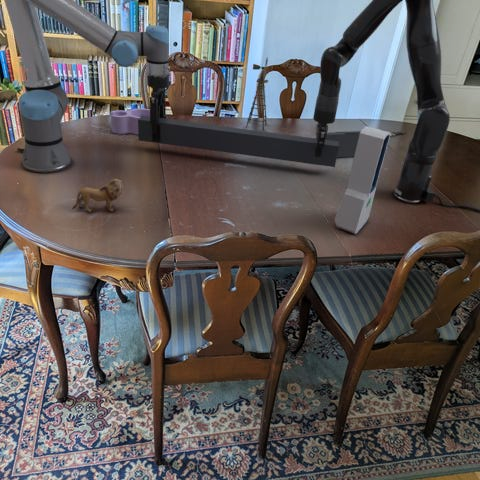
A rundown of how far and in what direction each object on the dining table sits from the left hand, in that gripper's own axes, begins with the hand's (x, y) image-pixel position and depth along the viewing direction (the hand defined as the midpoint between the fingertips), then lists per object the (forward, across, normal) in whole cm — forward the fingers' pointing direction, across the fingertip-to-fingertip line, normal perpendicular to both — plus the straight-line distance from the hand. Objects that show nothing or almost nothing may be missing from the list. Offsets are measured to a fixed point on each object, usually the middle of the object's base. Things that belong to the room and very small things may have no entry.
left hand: (158, 138), depth 175 cm
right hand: (-2, 0, -60) cm, 60 cm away
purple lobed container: (+5, +19, +14) cm, 24 cm away
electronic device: (+6, -35, -71) cm, 79 cm away
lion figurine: (+5, -47, +4) cm, 48 cm away
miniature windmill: (+5, +43, -34) cm, 55 cm away
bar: (+1, 0, -30) cm, 30 cm away
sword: (+6, +50, -92) cm, 105 cm away
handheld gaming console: (+6, +21, -72) cm, 76 cm away
